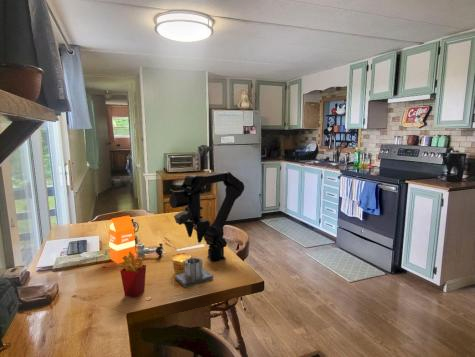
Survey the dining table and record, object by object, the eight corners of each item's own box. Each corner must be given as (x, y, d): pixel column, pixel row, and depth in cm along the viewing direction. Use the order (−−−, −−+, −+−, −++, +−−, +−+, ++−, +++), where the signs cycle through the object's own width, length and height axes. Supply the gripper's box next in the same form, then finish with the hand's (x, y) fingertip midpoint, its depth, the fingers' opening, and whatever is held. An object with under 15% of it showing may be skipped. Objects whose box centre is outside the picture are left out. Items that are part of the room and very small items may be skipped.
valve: (134, 260, 139) (160, 259, 140) (133, 246, 138) (160, 246, 139) (137, 255, 146) (163, 254, 146) (137, 242, 145) (162, 241, 146)
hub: (197, 270, 125) (197, 256, 124) (205, 276, 119) (205, 261, 118) (182, 274, 121) (182, 260, 120) (189, 280, 115) (189, 266, 115)
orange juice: (136, 258, 142) (133, 216, 139) (117, 263, 135) (115, 220, 133) (127, 253, 147) (125, 213, 145) (110, 259, 141) (107, 217, 138)
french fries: (148, 290, 111) (146, 251, 110) (135, 301, 103) (133, 260, 102) (126, 287, 113) (124, 249, 112) (113, 298, 105) (110, 257, 104)
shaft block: (202, 271, 127) (201, 257, 127) (212, 279, 120) (212, 264, 119) (175, 278, 121) (174, 264, 120) (184, 287, 113) (184, 272, 112)
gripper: (167, 203, 132) (168, 237, 134) (185, 211, 117) (186, 249, 119) (190, 200, 138) (191, 232, 140) (210, 207, 123) (211, 244, 125)
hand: (194, 239), depth 131 cm, fingers open, 9 cm apart
